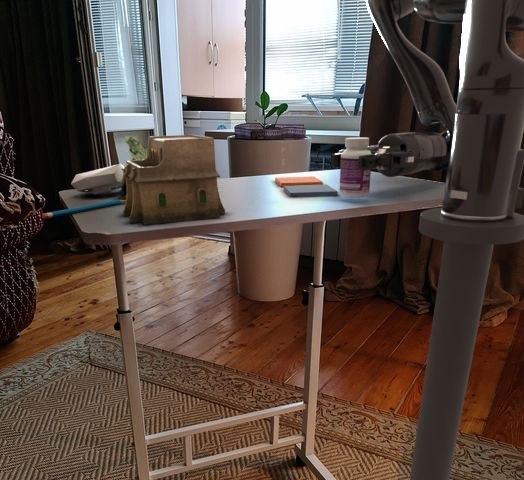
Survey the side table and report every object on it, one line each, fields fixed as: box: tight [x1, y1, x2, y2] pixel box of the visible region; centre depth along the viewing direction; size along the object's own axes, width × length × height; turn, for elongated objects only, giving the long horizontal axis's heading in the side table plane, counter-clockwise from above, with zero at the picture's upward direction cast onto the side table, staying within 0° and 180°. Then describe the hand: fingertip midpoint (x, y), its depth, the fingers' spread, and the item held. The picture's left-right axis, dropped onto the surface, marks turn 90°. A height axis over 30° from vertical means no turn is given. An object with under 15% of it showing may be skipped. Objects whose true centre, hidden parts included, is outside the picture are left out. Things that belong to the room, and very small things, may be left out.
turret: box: [70, 163, 126, 196], centre depth 103 cm, size 10×20×5 cm, turn 169°
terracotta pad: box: [274, 176, 324, 188], centre depth 110 cm, size 9×9×1 cm
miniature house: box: [122, 134, 226, 226], centre depth 79 cm, size 15×14×11 cm
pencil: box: [41, 199, 126, 219], centre depth 85 cm, size 1×17×1 cm, turn 144°
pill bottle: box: [338, 137, 372, 199], centre depth 87 cm, size 5×5×10 cm
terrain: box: [124, 135, 148, 160], centre depth 91 cm, size 15×9×2 cm
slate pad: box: [283, 184, 339, 198], centre depth 98 cm, size 9×9×1 cm
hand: (346, 161), depth 85 cm, fingers closed on pill bottle, 5 cm apart
